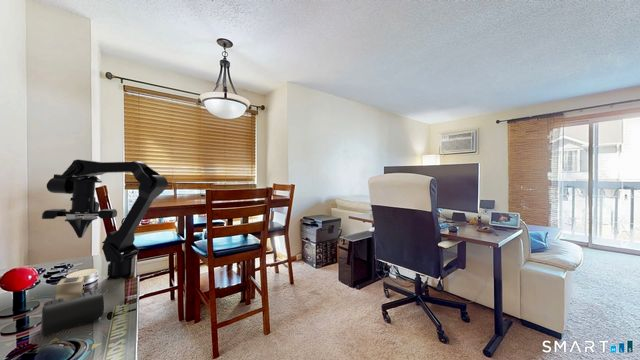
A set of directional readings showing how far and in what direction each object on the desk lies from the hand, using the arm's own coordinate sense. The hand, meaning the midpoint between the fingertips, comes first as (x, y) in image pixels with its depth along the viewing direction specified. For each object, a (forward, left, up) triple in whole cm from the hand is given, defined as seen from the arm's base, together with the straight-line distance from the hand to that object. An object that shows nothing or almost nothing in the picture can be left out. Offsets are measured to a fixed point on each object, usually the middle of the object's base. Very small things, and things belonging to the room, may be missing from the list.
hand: (80, 237), depth 87 cm
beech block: (-6, +20, -13) cm, 25 cm away
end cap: (-13, +38, -13) cm, 43 cm away
